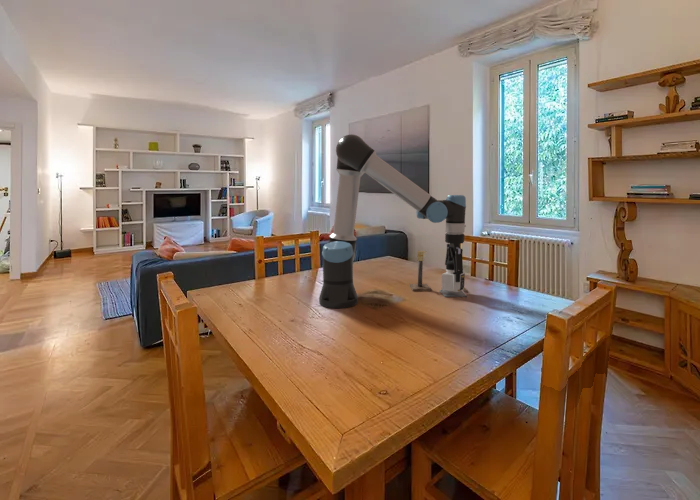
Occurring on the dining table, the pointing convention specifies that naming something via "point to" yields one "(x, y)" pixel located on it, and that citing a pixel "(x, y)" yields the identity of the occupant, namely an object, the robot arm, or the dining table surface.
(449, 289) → the medicine bottle
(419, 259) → the key
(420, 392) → the dining table surface
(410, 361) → the dining table surface
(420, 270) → the holder
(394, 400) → the dining table surface
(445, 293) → the coaster
